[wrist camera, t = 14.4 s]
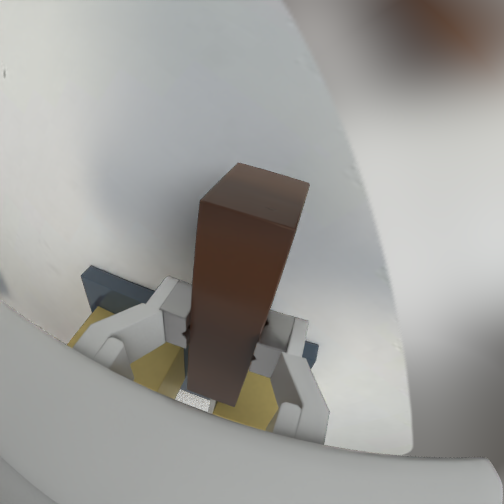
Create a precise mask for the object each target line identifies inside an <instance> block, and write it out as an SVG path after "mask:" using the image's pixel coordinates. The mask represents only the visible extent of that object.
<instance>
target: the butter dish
mask: <svg viewBox="0 0 504 504" xmlns="http://www.w3.org/2000/svg"><path fill="white" fill-rule="evenodd" d="M81 278H82V282H83V285H84V288H85V292H86V295H87V298H88V302H89V305H90V308H91V311H92V313H93V312H94V310H95V309H96V308H97V307H98V306H99V307H101V308H103V309H105V310H107V311H110V312H112V313H114V314H117V313H119V312H122V311H124V310H126V309H129V308H131V307H134V306H136V305H139V304H141V303H144V304H146V303H147V302H148V300H149V299H150V298H151V296H152V295H153V294H154V292H155V291H152V290H150V289H147V288H144V287H142V286H139V285H137V284H134V283H132V282H129V281H127V280H124V279H122V278H119V277H117V276H114V275H112V274H109V273H107V272H105V271H102V270H100V269H97V268H95V267H93V266H90V267H89V268H88V269H87V270H86V271H85V272H84V273H83V274H82V275H81ZM188 350H189V345H188V347H187V349H185V348H184V367H185V380H184V382H183V384H182V386H181V388H180V389H182V390H184V391H187V392H189V393H192V394H195V395H197V396H200V397H202V398H205V399H208V400H211V399H210V398H207V397H205V396H202V395H199V394H197V393H194V392H192V391H189V390H187V379H188ZM317 352H318V345H316V344H313V343H309V342H306V341H305V345H304V349H303V354H302V357H303V358H306V360H307V362H308V365H309V367H310V369H311V368H312V367H313V365H314V363H315V361H316V358H317Z"/></svg>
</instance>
